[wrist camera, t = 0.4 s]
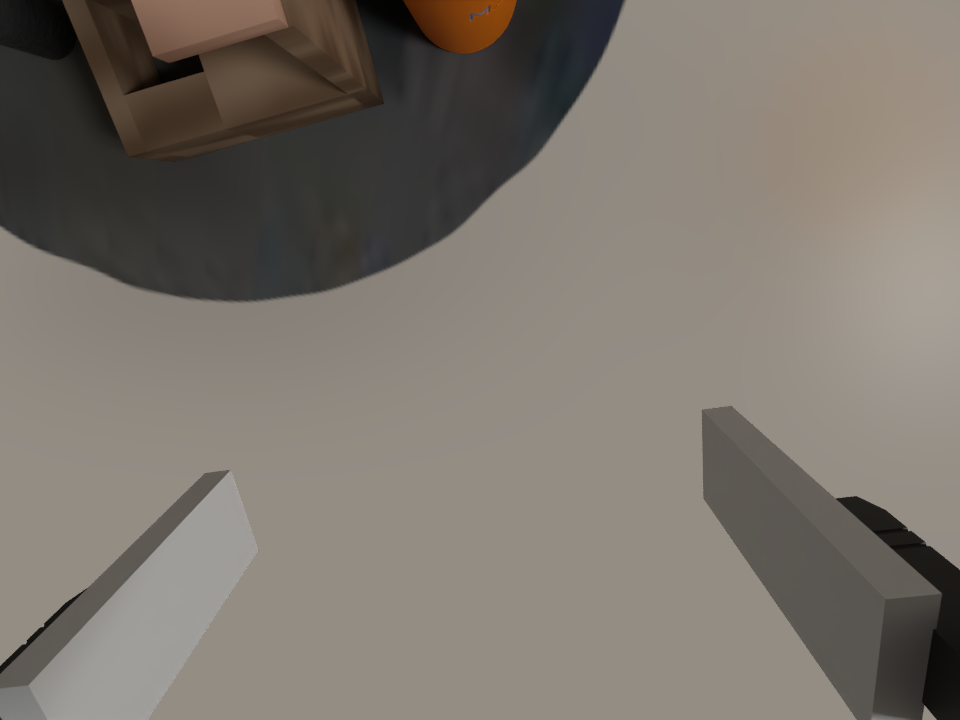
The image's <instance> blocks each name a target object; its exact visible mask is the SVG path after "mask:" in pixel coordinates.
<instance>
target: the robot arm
mask: <svg viewBox="0 0 960 720" xmlns="http://www.w3.org/2000/svg"><path fill="white" fill-rule="evenodd" d="M702 437H703V489H704V492H703V493H704V500H705V501H706V503H707V504H708V506H709V507H710V508H711V510H712V511H713V513H714V514H715V516H716V517H717V518H718V520H719V521H720V523H721V524H722V526H723V527H724V529H725V530H726V532H727V533H728V534H729V536H730V537H731V539H732V540H733V542H734V543H735V545H736V546H737V547H738V549H739V550H740V552H741V553H742V555H743V556H744V558H745V559H746V560H747V562H748V563H749V565H750V566H751V568H752V569H753V570H754V572H755V573H756V575H757V576H758V578H759V579H760V581H761V582H762V583H763V585H764V586H765V588H766V589H767V591H768V592H769V593H770V595H771V596H772V598H773V599H774V601H775V602H776V604H777V605H778V607H779V608H780V609H781V611H782V612H783V614H784V615H785V617H786V618H787V620H788V621H789V622H790V624H791V625H792V627H793V628H794V630H795V631H796V633H797V634H798V635H799V637H800V638H801V640H802V641H803V643H804V644H805V645H806V647H807V648H808V650H809V651H810V653H811V654H812V656H813V657H814V659H815V660H816V661H817V663H818V664H819V666H820V667H821V669H822V670H823V671H824V673H825V674H826V676H827V677H828V679H829V680H830V682H831V683H832V685H833V686H834V687H835V689H836V690H837V692H838V693H839V695H840V696H841V697H842V699H843V700H844V702H845V703H846V705H847V706H848V708H849V709H850V711H851V712H852V713H853V715H854V716H855V718H856V719H857V720H922V715H923V710H924V705H925V706H926V707H927V708H928V710H929V711H930V712H931V713H932V714H933V716H934V717H935V718H936V719H937V720H960V570H959V569H958V568H957V567H955V566H954V565H953V564H952V563H950V562H949V561H948V560H947V559H945V558H944V557H943V556H942V555H941V554H939V553H938V552H937V551H935V550H934V549H933V548H932V547H931V546H926V543H925V542H924V541H923V540H922V539H921V538H919V537H918V536H917V535H916V534H914V533H913V532H912V531H908V530H907V527H906V526H904V525H903V524H902V523H901V522H899V521H898V520H897V519H896V518H894V517H893V516H892V515H891V514H890V513H888V512H887V511H886V510H884V509H882V508H880V507H878V506H876V505H874V504H871V503H870V502H867V501H865V500H863V499H861V498H859V497H857V496H854V497H845V498H836V499H835V498H834V497H833V496H832V495H831V494H830V493H828V492H827V491H826V490H825V489H824V488H823V487H821V485H819V484H818V483H817V482H816V481H815V480H814V479H813V478H812V477H810V476H809V475H808V474H807V473H806V472H805V471H804V470H803V469H802V468H800V467H799V466H798V465H797V464H796V463H795V462H794V461H793V460H791V459H790V458H789V457H788V456H787V455H786V454H785V453H784V452H782V451H781V450H780V449H779V448H778V447H777V446H776V445H774V444H773V443H772V442H771V441H770V440H769V439H768V438H767V437H766V436H764V435H763V434H762V433H761V432H760V431H759V430H758V429H756V428H755V427H754V426H753V425H752V424H751V423H750V422H749V421H748V420H746V419H745V418H744V417H743V416H742V415H741V414H739V412H737V411H736V410H735V409H734V408H733V407H732V406H728V407H720V408H712V409H704V410H702ZM257 552H258V547H257V545H256V542H255V539H254V536H253V533H252V530H251V527H250V524H249V521H248V518H247V516H246V513H245V510H244V507H243V504H242V501H241V498H240V495H239V492H238V489H237V486H236V484H235V481H234V478H233V475H232V472H231V470H226V471H218V472H211V473H205V474H204V475H203V476H202V477H201V478H200V479H199V480H198V481H197V482H196V483H195V484H194V485H193V486H192V487H190V489H188V491H186V492H185V493H184V494H183V495H182V496H181V497H180V498H179V499H178V500H177V501H176V502H175V503H174V504H173V505H172V506H171V507H170V508H169V509H168V510H167V511H166V512H165V513H164V514H163V515H162V516H161V517H160V518H159V519H158V520H157V521H156V522H155V523H154V524H153V525H152V526H151V527H150V528H149V529H148V530H147V531H146V532H145V533H144V534H143V535H142V536H140V538H139V539H137V540H136V541H135V542H134V543H133V544H132V545H131V546H130V547H129V548H128V549H127V550H126V551H125V552H124V553H123V554H122V555H121V556H120V557H119V558H118V559H117V560H116V561H115V562H114V563H113V564H112V565H111V566H110V567H109V568H108V569H107V570H106V571H105V572H104V573H103V574H102V575H101V576H100V577H99V578H98V579H97V580H96V581H95V582H94V583H93V584H92V585H91V586H89V587H88V588H87V589H85V590H84V591H83V592H81V593H79V594H78V595H77V596H75V597H74V598H72V599H71V600H69V601H68V602H66V603H65V604H64V605H63V606H62V607H61V608H60V609H59V610H58V611H57V612H56V613H55V614H54V615H53V616H52V617H51V618H50V619H49V620H48V621H46V622H45V623H44V627H41V628H39V629H38V630H37V631H36V632H35V633H34V634H33V635H32V636H31V637H30V638H29V639H28V640H27V643H26V644H24V645H22V646H21V647H19V648H18V649H17V650H16V651H15V652H14V653H13V654H12V655H11V656H10V657H9V658H8V659H7V660H6V661H5V662H4V663H3V664H2V665H1V666H0V720H148V719H149V717H150V716H151V714H152V713H153V711H154V710H155V708H156V707H157V705H158V703H159V702H160V700H161V699H162V697H163V696H164V694H165V693H166V691H167V689H168V688H169V687H170V685H171V684H172V682H173V680H174V679H175V677H176V676H177V674H178V673H179V671H180V670H181V668H182V667H183V665H184V664H185V662H186V660H187V659H188V657H189V656H190V654H191V653H192V651H193V650H194V648H195V647H196V645H197V644H198V642H199V641H200V639H201V638H202V636H203V634H204V633H205V631H206V630H207V628H208V626H209V625H210V624H211V622H212V621H213V619H214V618H215V616H216V615H217V613H218V611H219V610H220V608H221V607H222V605H223V604H224V602H225V601H226V599H227V597H228V596H229V595H230V593H231V591H232V590H233V588H234V587H235V585H236V584H237V582H238V581H239V579H240V578H241V576H242V575H243V573H244V572H245V570H246V568H247V567H248V565H249V564H250V562H251V561H252V559H253V558H254V556H255V555H256V553H257Z"/></svg>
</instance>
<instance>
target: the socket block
mask: <svg viewBox="0 0 960 720" xmlns="http://www.w3.org/2000/svg"><path fill="white" fill-rule="evenodd" d="M62 1H63V3H64V6H65V8H66V11H67V13H68V15H69V18H70V20H71V22H72V25H73V27H74V30H75V32H76V34H77V37H78V39H79V41H80V44H81V46H82V49H83V51H84V53H85V56H86V58H87V60H88V63H89V65H90V68H91V70H92V72H93V75H94V77H95V79H96V82H97V84H98V87H99V89H100V91H101V94H102V96H103V98H104V101H105V103H106V106H107V108H108V110H109V113H110V115H111V117H112V120H113V122H114V125H115V127H116V129H117V132H118V134H119V136H120V139H121V141H122V144H123V146H124V148H125V151H126V153H127V155H128V157H134V158H143V159H152V160H161V161H171V162H176V161H180V160H184V159H187V158H191V157H194V156H198V155H202V154H205V153H209V152H212V151H216V150H219V149H223V148H227V147H230V146H234V145H237V144H241V143H245V142H248V141H252V140H255V139H259V138H262V137H266V136H270V135H273V134H277V133H280V132H284V131H287V130H291V129H295V128H298V127H302V126H305V125H309V124H313V123H316V122H320V121H323V120H327V119H330V118H334V117H338V116H341V115H345V114H348V113H352V112H355V111H359V110H363V109H366V108H370V107H373V106H377V105H381V104H384V102H383V99H382V95H381V91H380V87H379V84H378V80H377V76H376V73H375V69H374V65H373V62H372V58H371V54H370V51H369V47H368V43H367V40H366V36H365V32H364V29H363V25H362V21H361V18H360V14H359V10H358V7H357V3H356V0H62ZM139 23H140V24H139ZM140 25H141V26H140ZM141 27H142V29H141ZM142 30H143V31H142ZM143 32H144V34H143ZM144 35H145V37H144ZM145 38H146V39H145ZM146 40H147V42H146ZM147 43H148V44H147ZM148 45H149V47H148ZM149 48H150V50H149ZM150 51H151V52H150ZM151 53H152V55H151ZM194 55H199V58H200V60H201V63H202V66H203V69H204V72H201V73H198V74H194V75H191V76H188V77H184V78H181V79H177V80H174V81H171V82H167V83H164V84H163V83H162V81H161V78H160V75H159V73H158V70H157V68H156V65H155V63H154V60H153V57H156V58H158V59H160V60H163V61H165V62H168V63H171V62H174V61H178V60H181V59H184V58H188V57H191V56H194ZM152 56H153V57H152Z"/></svg>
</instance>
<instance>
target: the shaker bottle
mask: <svg viewBox="0 0 960 720" xmlns="http://www.w3.org/2000/svg"><path fill="white" fill-rule="evenodd" d="M403 1H404V3H405V4H406V6H407V8H408V9H409V11H410V13H411V14H412V16H413V18H414V19H415V21H416V23H417V24H418V26H419V28H420V29H421V30H422V32H423V33H424V34H425V36H426V37H427V38H428V39H429V40H430V41H432V42H433V43H434V44H435V45H437V46H439V47H440V48H442V49H444V50H447V51H450V52H452V53H460V54H466V53H474V52H477V51H480V50H482V49H484V48H486V47H488V46H489V45H491V44H492V43H494V42H495V41H496V40H497V39H498V38H499V37H500V36H501V35H502V33H503V32H504V30H505V29H506V28H507V26H508V24H509V22H510V20H511V18H512V15H513V12H514V8H515V5H516V1H517V0H403Z"/></svg>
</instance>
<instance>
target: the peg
mask: <svg viewBox="0 0 960 720" xmlns="http://www.w3.org/2000/svg"><path fill="white" fill-rule="evenodd" d="M75 38H76V33H75V30H74V27H73V25H72V22H71V20H70V18H69V15H68V13H67V11H66V9H65V8H64V7H63V6H62V5H61V4H60V3H59V2H57V1H56V0H0V44H2V45H5V46H8V47H11V48H14V49H18V50H21V51H24V52H27V53H31V54H34V55H37V56H40V57H43V58H47V59H52V60H58V59H61V58H64V57H66V56H67V55H68V54H69V53H70V52H71V51H72V49H73V47H74V44H75Z"/></svg>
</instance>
